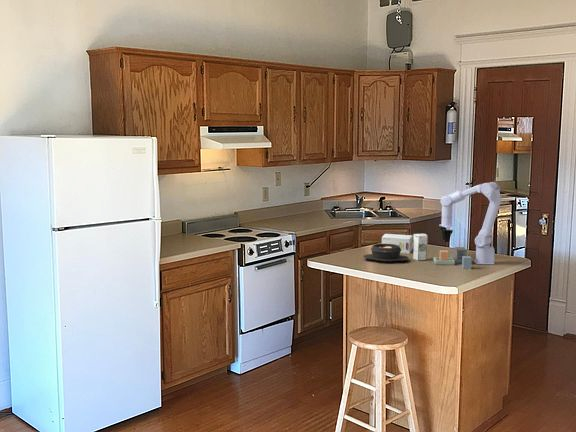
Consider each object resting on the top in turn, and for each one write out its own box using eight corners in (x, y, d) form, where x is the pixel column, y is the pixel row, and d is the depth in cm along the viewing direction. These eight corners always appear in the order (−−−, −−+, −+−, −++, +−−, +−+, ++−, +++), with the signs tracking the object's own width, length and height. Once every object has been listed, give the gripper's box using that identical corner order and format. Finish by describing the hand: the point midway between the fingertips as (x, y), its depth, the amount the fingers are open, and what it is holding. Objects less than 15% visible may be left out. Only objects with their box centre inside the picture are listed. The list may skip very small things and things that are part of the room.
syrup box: (421, 258, 354) (422, 233, 352) (426, 260, 348) (427, 234, 346) (412, 259, 352) (413, 233, 350) (417, 261, 347) (418, 235, 345)
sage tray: (451, 261, 346) (451, 257, 345) (454, 265, 336) (454, 261, 336) (433, 261, 347) (433, 257, 346) (435, 264, 337) (435, 260, 336)
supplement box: (381, 252, 374) (381, 236, 372) (384, 248, 386) (385, 233, 385) (409, 253, 368) (410, 238, 367) (412, 249, 381) (412, 234, 380)
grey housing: (464, 260, 347) (465, 246, 346) (468, 264, 337) (468, 250, 336) (451, 260, 348) (452, 246, 347) (455, 264, 337) (455, 250, 336)
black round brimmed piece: (361, 262, 342) (361, 247, 341) (365, 256, 360) (365, 242, 359) (407, 265, 336) (408, 249, 335) (409, 258, 354) (409, 243, 353)
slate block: (469, 267, 330) (470, 256, 329) (471, 269, 326) (471, 257, 325) (462, 267, 331) (462, 256, 330) (463, 268, 327) (463, 257, 326)
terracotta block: (446, 261, 343) (447, 250, 342) (447, 262, 339) (448, 251, 338) (439, 261, 343) (439, 250, 343) (440, 262, 339) (440, 251, 339)
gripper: (437, 215, 359) (437, 238, 361) (441, 218, 345) (440, 242, 347) (450, 215, 359) (449, 238, 360) (454, 218, 344) (453, 243, 346)
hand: (446, 240), depth 353 cm, fingers open, 7 cm apart
